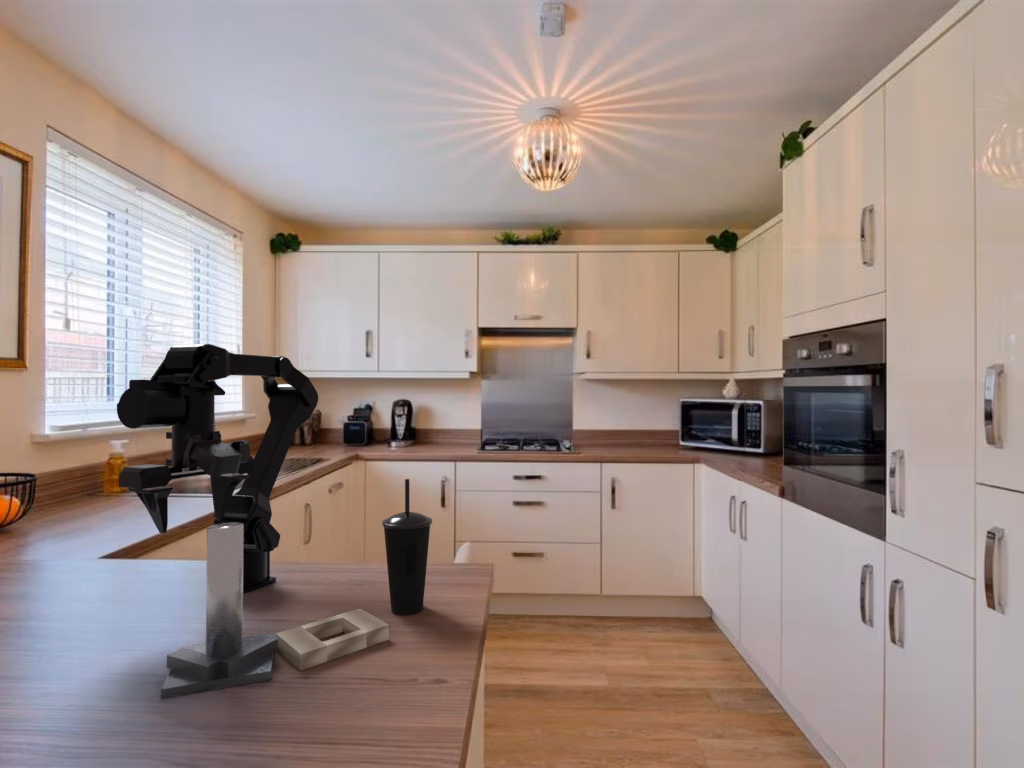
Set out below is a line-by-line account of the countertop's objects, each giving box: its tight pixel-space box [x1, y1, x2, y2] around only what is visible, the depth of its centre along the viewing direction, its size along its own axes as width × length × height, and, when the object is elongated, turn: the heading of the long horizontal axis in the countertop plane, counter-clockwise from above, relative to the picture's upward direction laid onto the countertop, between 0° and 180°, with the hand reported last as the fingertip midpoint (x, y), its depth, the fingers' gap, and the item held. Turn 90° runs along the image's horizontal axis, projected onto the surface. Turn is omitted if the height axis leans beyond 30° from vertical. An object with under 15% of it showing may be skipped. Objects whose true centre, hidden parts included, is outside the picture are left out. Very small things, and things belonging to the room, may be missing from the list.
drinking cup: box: [381, 478, 433, 616], centre depth 85 cm, size 8×8×20 cm
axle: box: [205, 522, 244, 658], centre depth 67 cm, size 4×4×16 cm
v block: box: [160, 632, 279, 699], centre depth 67 cm, size 11×12×2 cm
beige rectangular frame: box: [275, 608, 390, 672], centre depth 73 cm, size 12×8×2 cm, turn 134°
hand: (192, 526), depth 84 cm, fingers open, 9 cm apart
